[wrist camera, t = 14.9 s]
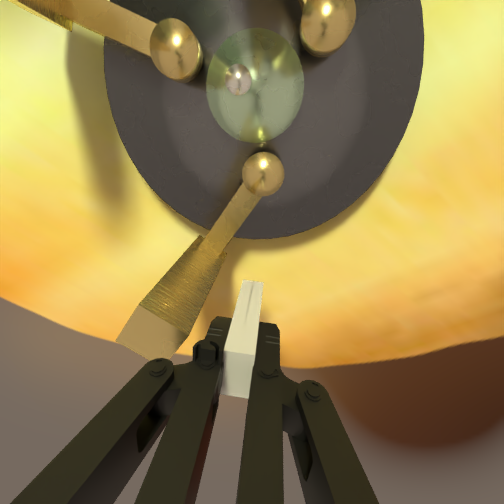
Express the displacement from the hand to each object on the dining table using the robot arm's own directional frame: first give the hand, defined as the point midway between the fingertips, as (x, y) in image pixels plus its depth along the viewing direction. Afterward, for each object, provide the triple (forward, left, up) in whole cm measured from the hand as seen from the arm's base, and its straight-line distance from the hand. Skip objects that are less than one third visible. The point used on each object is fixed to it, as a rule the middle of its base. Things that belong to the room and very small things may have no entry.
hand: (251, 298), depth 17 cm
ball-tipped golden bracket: (+1, -5, -4) cm, 6 cm away
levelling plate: (-2, -13, -6) cm, 14 cm away
